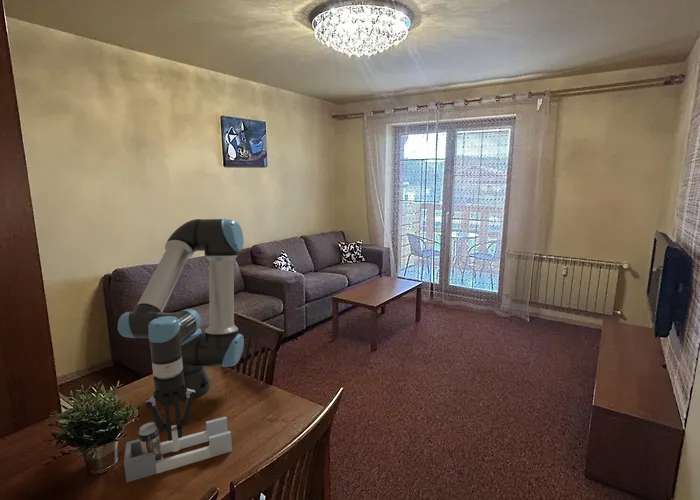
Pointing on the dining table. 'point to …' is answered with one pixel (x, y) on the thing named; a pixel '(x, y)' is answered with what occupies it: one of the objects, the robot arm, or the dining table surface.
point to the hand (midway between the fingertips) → (176, 448)
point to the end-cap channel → (148, 466)
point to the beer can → (150, 440)
